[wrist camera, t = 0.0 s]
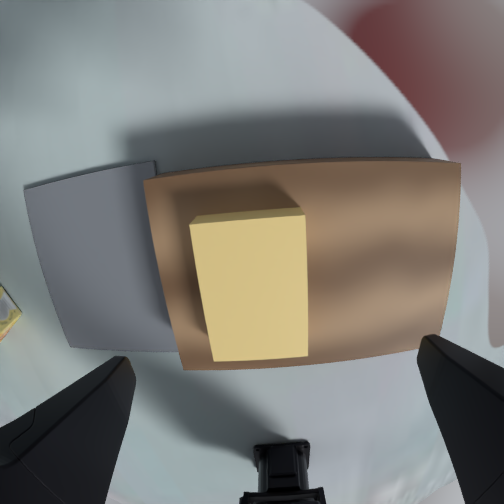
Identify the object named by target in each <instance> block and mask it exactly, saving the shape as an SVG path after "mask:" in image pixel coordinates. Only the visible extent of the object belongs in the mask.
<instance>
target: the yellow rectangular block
mask: <svg viewBox="0 0 504 504" xmlns="http://www.w3.org/2000/svg"><path fill="white" fill-rule="evenodd" d="M189 226H190V233H191V239H192V246H193V252H194V258H195V264H196V270H197V276H198V282H199V287H200V293H201V299H202V304H203V310H204V315H205V320H206V325H207V330H208V335H209V340H210V345H211V350H212V355H213V360H214V361H245V360H265V359H280V358H293V357H304V356H308V279H307V245H306V221H305V214H304V212H303V210H302V209H301V207H296V208H282V209H269V210H256V211H244V212H233V213H222V214H211V215H201V216H196V217H195V219H194V220H193V221H192V222H191V223H190V225H189Z"/></svg>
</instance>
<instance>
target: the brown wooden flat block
mask: <svg viewBox="0 0 504 504" xmlns="http://www.w3.org/2000/svg"><path fill="white" fill-rule="evenodd" d="M143 184H144V190H145V197H146V203H147V209H148V215H149V221H150V227H151V233H152V238H153V243H154V248H155V254H156V259H157V263H158V268H159V273H160V278H161V282H162V287H163V291H164V296H165V300H166V304H167V308H168V313H169V317H170V321H171V325H172V329H173V333H174V336H175V340H176V344H177V348H178V351H179V355H180V359H181V362H182V366H183V369H184V370H238V369H261V368H277V367H290V366H302V365H313V364H322V363H331V362H339V361H347V360H355V359H362V358H368V357H375V356H381V355H387V354H393V353H399V352H404V351H409V350H414V349H419V347H420V343H421V339H422V337H423V336H425V335H430V334H436V335H438V336H439V335H440V331H441V327H442V323H443V319H444V314H445V310H446V305H447V300H448V295H449V289H450V284H451V278H452V272H453V265H454V258H455V250H456V242H457V232H458V221H459V208H460V187H461V163H456V162H451V161H445V160H440V159H434V158H409V157H348V158H317V159H297V160H281V161H268V162H255V163H244V164H234V165H224V166H215V167H206V168H198V169H190V170H183V171H175V172H168V173H162V174H160V175H157V176H154V177H151V178H148V179H146V180H143ZM296 207H301V209H302V210H303V212H304V214H305V221H306V245H307V279H308V356H304V357H293V358H280V359H265V360H245V361H214V360H213V355H212V350H211V345H210V340H209V335H208V330H207V325H206V320H205V315H204V310H203V304H202V299H201V293H200V287H199V282H198V276H197V270H196V264H195V258H194V252H193V246H192V239H191V233H190V226H189V225H190V223H191V222H192V221H193V220H194V219H195V217H196V216H201V215H211V214H222V213H233V212H244V211H256V210H269V209H282V208H296Z"/></svg>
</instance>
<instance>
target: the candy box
mask: <svg viewBox="0 0 504 504" xmlns="http://www.w3.org/2000/svg"><path fill="white" fill-rule="evenodd" d="M21 314H22V312H21V311H20V310H19V309H18V307H17V306H16V305H15V303H14V302H13V301H12V300H11V298H10V297H9V296H8V294H7V293H6V292H5V290H4V289H3V287H2V286H1V287H0V342H1V341H2V339H3V338H4V337H5V335H6V334H7V333H8V332H9V330H10V329H11V328H12V326H13V325H14V324H15V322H16V321H17V319H18V318H19V317H20V315H21Z"/></svg>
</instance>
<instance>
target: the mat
mask: <svg viewBox="0 0 504 504" xmlns="http://www.w3.org/2000/svg"><path fill="white" fill-rule="evenodd" d="M154 176H157V173H156V166H155V161H150V162H144V163H138V164H133V165H127V166H122V167H117V168H112V169H107V170H102V171H98V172H93V173H89V174H84V175H80V176H76V177H72V178H67V179H63V180H59V181H55V182H52V183H48V184H44V185H40V186H37V187H33V188H30V189H26V190H24V195H25V201H26V206H27V211H28V216H29V220H30V225H31V229H32V234H33V238H34V242H35V246H36V249H37V253H38V257H39V260H40V264H41V267H42V271H43V274H44V277H45V280H46V284H47V287H48V290H49V293H50V296H51V299H52V301H53V304H54V307H55V310H56V313H57V315H58V318H59V320H60V323H61V326H62V328H63V331H64V333H65V336H66V338H67V340H68V343H69V345H70V347H74V348H86V349H100V350H118V351H143V352H179V351H178V348H177V344H176V340H175V336H174V333H173V329H172V325H171V321H170V317H169V313H168V308H167V304H166V300H165V296H164V291H163V287H162V282H161V278H160V273H159V268H158V263H157V259H156V254H155V248H154V243H153V238H152V233H151V227H150V221H149V215H148V209H147V203H146V197H145V190H144V184H143V180H146V179H148V178H151V177H154Z"/></svg>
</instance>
